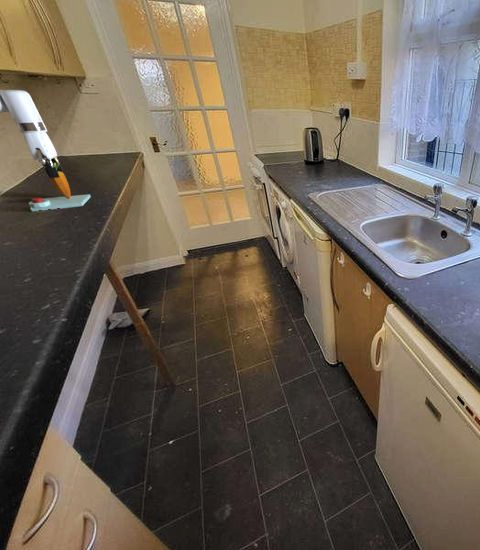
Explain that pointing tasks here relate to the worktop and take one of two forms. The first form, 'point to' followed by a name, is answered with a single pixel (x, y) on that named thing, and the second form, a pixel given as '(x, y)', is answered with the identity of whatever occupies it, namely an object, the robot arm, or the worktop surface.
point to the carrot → (61, 183)
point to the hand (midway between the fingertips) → (57, 175)
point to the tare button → (37, 200)
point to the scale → (59, 202)
